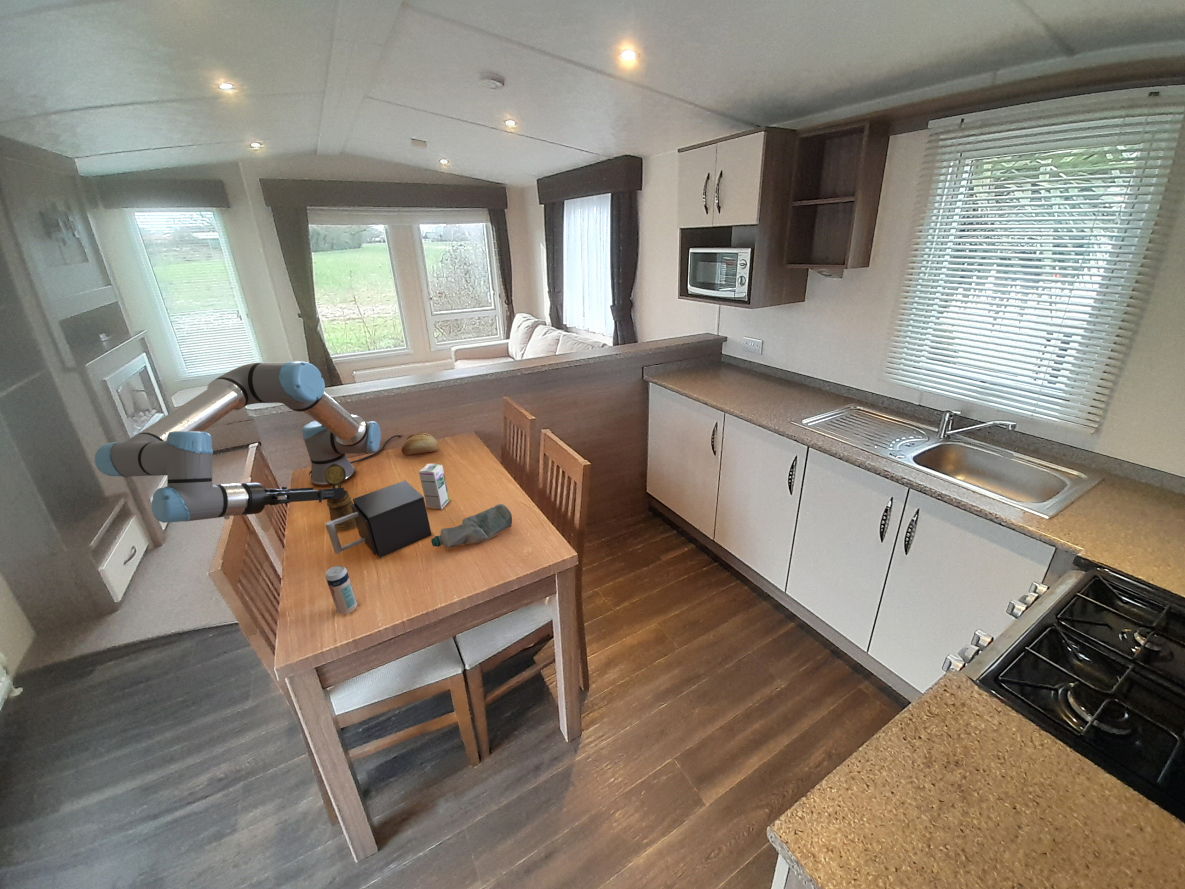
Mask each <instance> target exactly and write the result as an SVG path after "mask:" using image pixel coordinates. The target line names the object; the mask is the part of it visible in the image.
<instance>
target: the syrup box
mask: <svg viewBox="0 0 1185 889" xmlns="http://www.w3.org/2000/svg"><path fill="white" fill-rule="evenodd" d="M418 475H419V480H420V484H421V488H422V492H423V497H424V501H425V506H426V509H431V510H432V509H433V510H443V509H444V508H445V507H446V505H448V503H449V502H450V495H449V489H448V486H447V481H446V475H445V472H444V466H443V464H440V463H426V465H425V466H423V467H422V468H421V469H419V471H418Z"/></svg>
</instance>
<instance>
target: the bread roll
mask: <svg viewBox="0 0 1185 889" xmlns="http://www.w3.org/2000/svg"><path fill="white" fill-rule="evenodd" d="M439 447H440V445H439V442H438V440H437V439H436V438H435V437H434V436H433V435H431V434H430V433H427V432H418V433H414V434H413V433H412V434H410V435H409V436H407V437H406V439H405V440H404V442H403V443H402V445H401V448H400V449H401V453H402V455H403V456H404V455H405V456H410V455H417V454H426V453H433V452H436V451H437V450H438V449H439Z"/></svg>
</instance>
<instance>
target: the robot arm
mask: <svg viewBox="0 0 1185 889" xmlns="http://www.w3.org/2000/svg"><path fill="white" fill-rule="evenodd" d="M206 387H207V388H206V389H205V390H204V391H202V392H200V393H199V394H198V395H196V396H195V397H193V398H191V399H190V400H188V401H187V402H185V403H183V404H182V405H181V406H179V407H177V408H176V409H174V410H173V411H171V412H170V413H168V414H166V415H165V416H163V417H162V418H160V419H158V420H157V421H155V422H154V423H152V424H151V425H149V426H148V427H146V428H144V429H143V430H141V431H140V432H138V433H136V434H135V435H134V436H132V437H130V438H128V439H127V440H125V441H115V442H107V443H105V444H103V445H101V446H100V447H99V448H98V449H97V450H96V452H95V454H94V465H95V467H96V468H97V470H98V471H99V472H100V473H101V474H103V475H106V476H108V477H122V478H129V477H130V478H131V477H151V476H152V477H154V476H167V477H166V478H167V480H166V481H167V484H166V486H164V487H159V488H157V489H156V490H155V491H154V492H153V494H152V500H151V511H152V515H153V516H154V518H155V519H156V520H157V522H158V521H159V522H160V523H164V524H167V523H168V524H169V523H181V522H183V523H185V522H186V523H187V522H192V521H203V520H209V519H218V518H219V519H220V518H224V520H229V519H230V517H235V516H237V517H238V516H241V515H242V516H247V515H248V516H249V515H258V514H260V513H262V512H263V511H264V509H265V507H266V506H278V505H284V504H285V505H287V504H290V503H297V502H298V503H299V502H312V501H318V503H319V504H320V503H321V504H322V502H323V501H324V500H325V501H326V500H327V499H336V498H344V490H345V488H344V487H342V488H333V487H332V485H331V484H329V483H327V481H326V479H325V471H326V470H327V468H328V467H329V466H331V465H332V464H333V463H334V464H337V465H340V466H341V467H343V468H344V470H345V473H346V477H345V479H344V481H343V482H342V483H341V484H343V483H346V482H348V481H349V480H351V479H352V478H354V477H355V475H356V473H357V472H356V468H355V467H354V465H353V464H355V463H358V462H361V461H363V460H366V459H369V458H371V457H374V456H376V455H377V454H379V453H381V452H382V451H384V448H385V446H386V444H387V443H388V442H390V441H391V440H392V439H394V438H396V437H398V438H401V437H402V435H400V434H395V435H393V436H390V437H389V438H388V439H387V440H385V441H384V443H383V444H382V446H381V448H380V445H381V440H382V433H381V428H380V425H379V423H378V422H376V421H372V420H371V421H367V420H365V419H364V418H362V417H361V416H358V415H357V414H351V413H350V412H348V410H346V409H345V408H344V407H343V406H342V405H340V404H339V403H338V402H337V401H335V399H333V398H332V397H331V396H330V395H328V393H326V392H325V387H326V386H325V379H324V377H322V373H321V371H320V370H319V369H318V367H317V366H315V365H314V364H312V363H310V362H307V361H301V360H300V361H299V360H291V361H275V362H273V361H271V362H269V361H268V362H251V363H247V364H243V365H241V366H238V367H236V368H233V369H231V370H228V371H227V372H225V373H224V374H221V375H220V376H218V377H217V378H215V379H213V380H211V381H210V382H209V383H208V385H207V386H206ZM255 404H282V405H284V406H286V407H287V408H289V409H290V410H292V411H294V412H298V413H301V412H303V413H304V414H306V415H307V416H308V417H310V418H311V419H312V420H313V421H309V423H307V424H305V425H304V426H303V427H302V429H301V433H302V437H303V438H302V439H303V441H304V445H305V447H306V450H307V453H308V456H309V460H310V463H311V468H310V471H309V473H308V476H310V481H311V484H312V485H313V486H311V487H297V488H288V487H287V486H281V489H279V488H264V486H263V485H262V484H261V483H259V482H243V483H238V482H237V483H221V484H219V483H218V484H213V456H214V449H213V442H212V440H213V439H212V435H211V434H210V433H208V432H206V430H208V429H209V428H210V427H212V426H213V425H214V424H216V423H217V422H218V421H220V420H221V419H222V418H224V417H225V416H227V415H228V414H230V413H231V412H237V411H240V410H242V409H243V408H245V407H246V406H247V407H248V406H251V405H255ZM397 435H398V436H397ZM379 448H380V449H379ZM348 454H349V455H351V454H353V455H354V454H355V455H356V454H366V455H367V454H368V456H365V457H364V456H363V457H361V458H359V459H355V460H352V461H350V460H349V458H348V456H346V455H348ZM369 454H370V455H369ZM314 487H319V489H315V488H314ZM327 487H328V488H327ZM329 487H330V488H329ZM331 487H332V488H331Z"/></svg>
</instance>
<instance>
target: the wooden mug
mask: <svg viewBox="0 0 1185 889" xmlns="http://www.w3.org/2000/svg"><path fill="white" fill-rule="evenodd" d="M345 477H346V473H345V470H344V468H343V467H341V466H340V465H337V464H334V463H333V464H332V465H331V466H329V467H328V468H327V470H326V471H325V479H326V481H327V483H329V484H331V485H332V486H331V487H332V488H343V487H342V484H343V483H342V482H343V481H344V479H345ZM351 504H354V502H353V499H352V496H351V495H350V493H349V491H348V490H345V489H344V498H336V499H326V506H327V507H328V511H329V518H330V520H329V521H333V520H336V519H339V518H341V517H344V516H347V515H349V514H352V513H353V511H352V508H351ZM335 528H336V532H345V531H349V530H352V529H354V528H357V525H356V522H355V518H352V519H349V520H347V521H344V522H341V523H339V524H336V525H335Z"/></svg>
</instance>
